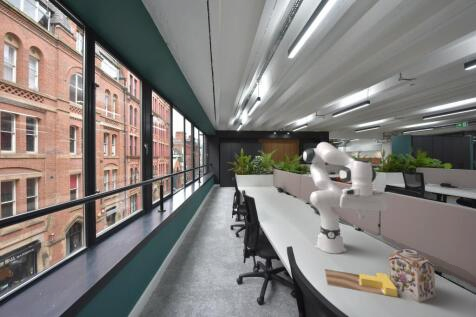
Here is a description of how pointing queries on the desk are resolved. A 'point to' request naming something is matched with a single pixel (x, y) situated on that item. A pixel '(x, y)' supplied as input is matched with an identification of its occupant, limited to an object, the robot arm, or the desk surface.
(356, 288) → the board
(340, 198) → the robot arm
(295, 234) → the desk surface
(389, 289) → the t block
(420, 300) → the decorative jar
